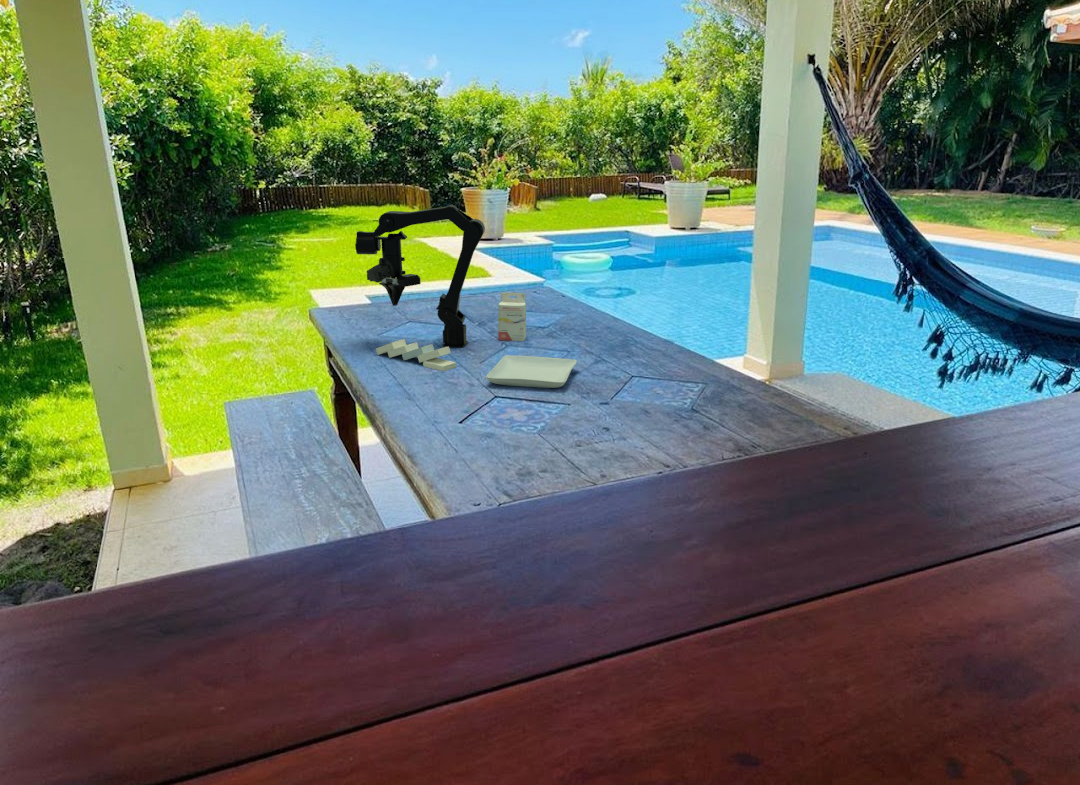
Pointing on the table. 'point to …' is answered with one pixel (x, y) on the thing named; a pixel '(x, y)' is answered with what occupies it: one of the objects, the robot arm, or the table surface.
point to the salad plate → (531, 371)
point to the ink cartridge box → (512, 317)
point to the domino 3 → (417, 352)
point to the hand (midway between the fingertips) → (394, 305)
